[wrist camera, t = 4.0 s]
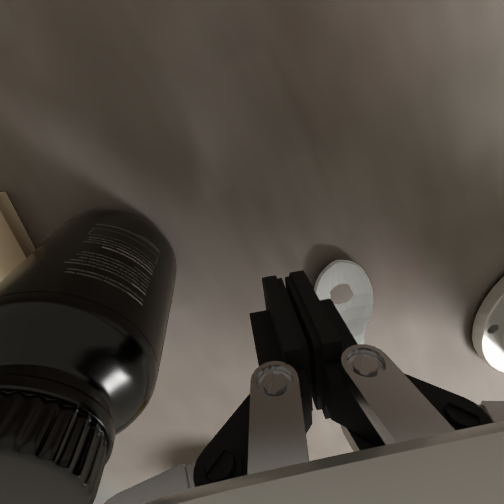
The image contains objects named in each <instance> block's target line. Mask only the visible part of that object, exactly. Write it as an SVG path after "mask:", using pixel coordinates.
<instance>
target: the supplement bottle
mask: <svg viewBox="0 0 504 504" xmlns="http://www.w3.org/2000/svg"><path fill="white" fill-rule="evenodd" d="M175 279H176V260H175V256H174V253H173V250H172V248H171V246H170V244H169V242H168V241H167V239H166V238H165V237H164V235H163V234H162V233H161V232H160V231H159V230H158V229H157V228H155V227H154V226H153V225H152V224H150V223H149V222H147V221H145V220H144V219H142V218H140V217H138V216H135V215H133V214H130V213H126V212H122V211H116V210H97V211H91V212H87V213H83V214H81V215H78V216H76V217H74V218H73V219H71V220H69V221H68V222H66V223H65V224H64V225H63V226H61V227H60V228H59V229H58V230H57V231H56V232H54V233H53V234H52V235H51V236H50V237H49V238H48V239H47V240H46V241H45V242H43V243H42V244H41V245H40V246H39V247H38V248H37V249H36V250H35V251H34V252H32V253H31V254H30V255H29V256H28V257H27V258H26V259H25V260H24V261H23V262H22V263H20V264H19V265H18V266H17V267H16V268H15V269H14V270H13V271H12V272H11V273H10V274H8V275H7V276H6V277H5V278H4V279H3V280H2V281H1V282H0V504H93V502H94V500H95V497H96V494H97V491H98V487H99V484H100V480H101V477H102V473H103V470H104V466H105V465H106V463H107V462H108V460H109V458H110V455H111V453H112V449H113V445H114V440H115V435H117V434H119V433H120V432H121V431H123V430H124V429H126V428H127V427H128V426H129V425H130V424H131V423H132V422H134V421H135V420H136V418H137V417H138V416H139V415H140V414H141V413H142V412H143V410H144V409H145V407H146V406H147V404H148V403H149V401H150V399H151V397H152V394H153V391H154V388H155V384H156V380H157V376H158V371H159V365H160V360H161V355H162V349H163V344H164V339H165V333H166V328H167V323H168V317H169V312H170V307H171V301H172V296H173V290H174V284H175Z"/></svg>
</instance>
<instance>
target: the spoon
mask: <svg viewBox="0 0 504 504" xmlns="http://www.w3.org/2000/svg"><path fill="white" fill-rule="evenodd" d="M338 284H348V285H349V286H350V288H351V290H352V292H353V294H354V295H353V296H352V298H351V299H350V300H349V301H347V302H346V303H344V304H334V305H335V307H336V308H337V310H338V312H339V313H340V315H341V317H342V318H343V320H344V322H345V323H346V325H347V327H348V329H349V330H350V332H351V334H352V335H353V337H354V339H355V340H356V342H357V344H364V335H365V330H366V327H367V324H368V322H369V319H370V317H371V313H372V309H373V289H372V286H371V283H370V280H369V278H368V276H367V275H366V273H365V271H364V270H363V269H362V268H361V267H360V265H358V264H357V263H355V262H353V261H349V260H335V261H333V262H331V263H330V264H329V265H328V266H327V267H326V268H325V269H324V270H323V271H322V272H321V273H320V274H319V276H318V278H317V280H316V283H315V287H314V291H315V292H316V294H317V296H318V298H319V300H324V299H331V295H330V291H331V290H332V289H333V288H334V287H336V286H337V285H338Z"/></svg>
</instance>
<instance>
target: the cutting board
mask: <svg viewBox="0 0 504 504" xmlns="http://www.w3.org/2000/svg"><path fill="white" fill-rule="evenodd" d="M35 250H36V249H35V247H34V245H33V243H32V241H31V239H30V237H29V235H28V233H27V232H26V230H25V228H24V226H23V224H22V222H21V220H20V218H19V216H18V214H17V212H16V211H15V209H14V207H13V205H12V203H11V201H10V199H9V197H8V195H7V193H6V191H4V192H0V282H1V281H2V280H3V279H4V278H5V277H6V276H7V275H8V274H10V273H11V272H12V271H13V270H14V269H15V268H16V267H17V266H18V265H19V264H20V263H22V262H23V261H24V260H25V259H26V258H27V257H28V256H29V255H30V254H31V253H32V252H34V251H35Z"/></svg>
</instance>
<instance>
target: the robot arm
mask: <svg viewBox="0 0 504 504" xmlns="http://www.w3.org/2000/svg"><path fill="white" fill-rule="evenodd" d="M262 282H263V289H264V297H265V304H266V310H265V311H260V312H254V313H250V319H251V324H252V330H253V336H254V342H255V347H256V353H257V358H258V364H259V367H258V368H257V369H256V370H255V371H254V373H253V374H252V377H251V384H250V394H249V395H248V397H247V398H246V399H245V400H244V401H243V403H242V404H241V405H240V406H239V407H238V409H237V410H236V411H235V412H234V414H233V415H232V416H231V417H230V418H229V420H228V421H227V422H226V423H225V425H224V426H223V427H222V428H221V429H220V431H219V432H218V433H217V434H216V435H215V437H214V438H213V439H212V440H211V442H210V443H209V444H208V445H207V446H206V448H205V449H204V450H203V451H202V453H201V454H200V456H199V457H198V459H197V460H196V461H195V462H193V463H191V464H189V465H187V466H185V464H184V463H182V464H180V465H178V466H176V467H174V468H171V469H169V470H167V471H165V472H163V473H161V474H159V475H156V476H154V477H152V478H150V479H148V480H146V481H143V482H141V483H139V484H137V485H135V486H133V487H131V488H128V489H126V490H124V491H122V492H120V493H118V494H116V495H114V496H113V497H111V498H110V499H108V500H107V501H106V502H105V503H104V504H504V401H482V402H481V405H477V404H475V403H474V402H472V401H470V400H468V399H466V398H464V397H461V396H459V395H456V394H454V393H451V392H449V391H446V390H444V389H441V388H439V387H436V386H434V385H431V384H429V383H426V382H424V381H421V380H419V379H416V378H414V377H411V376H409V375H406V374H404V373H403V372H402V371H401V370H400V369H399V368H398V367H397V366H396V365H395V363H394V362H393V361H392V360H391V359H390V358H389V357H388V356H387V355H386V354H385V353H384V352H383V351H382V350H380V349H378V348H376V347H374V346H370V345H366V344H357V342H356V340H355V339H354V337H353V335H352V334H351V332H350V330H349V329H348V327H347V325H346V323H345V322H344V320H343V318H342V317H341V315H340V313H339V312H338V310H337V308H336V307H335V305H334V303H333V302H332V300H331V299H324V300H319V298H318V296H317V294H316V292H315V291H314V289H313V287H312V285H311V283H310V281H309V279H308V278H307V276H306V274H305V272H304V271H303V270H302V271H297V272H291V273H290V274H289V277H285V284H286V288H285V285H284V283H283V280H282V278H278V279H277V278H276V276H269V277H264V278H262ZM472 340H473V346H474V348H475V350H476V352H477V354H478V355H479V356H480V357H481V358H482V359H483V360H484V361H485V362H486V363H487V364H488V365H489V366H490V367H492V368H494V369H495V370H497V371H499V372H502V373H504V276H503V277H502V278H501V279H500V280H499V281H498V282H497V284H496V285H495V286H494V287H493V288H492V289H491V291H490V292H489V293H488V295H487V296H486V298H485V299H484V300H483V302H482V304H481V306H480V308H479V310H478V312H477V314H476V317H475V321H474V324H473V330H472ZM312 398H313V401H314V404H315V407H316V409H317V410H320V409H322V410H323V413H324V416H325V419H328V418H331V420H333V421H335V422H337V423H339V424H340V425H341V428H342V431H343V433H344V435H345V437H346V439H347V441H348V442H349V444H350V446H351V448H352V449H353V451H354V452H351V453H346V454H341V455H337V456H332V457H327V458H323V459H318V460H313V461H309V455H308V447H307V440H306V433H307V431H308V430H309V428H310V426H311V425H312V412H311V411H313V408H312Z"/></svg>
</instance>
